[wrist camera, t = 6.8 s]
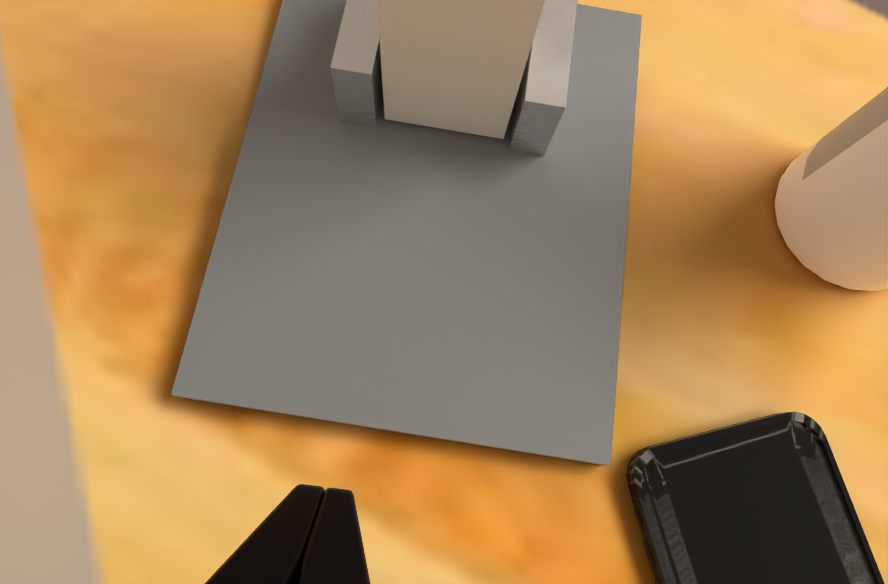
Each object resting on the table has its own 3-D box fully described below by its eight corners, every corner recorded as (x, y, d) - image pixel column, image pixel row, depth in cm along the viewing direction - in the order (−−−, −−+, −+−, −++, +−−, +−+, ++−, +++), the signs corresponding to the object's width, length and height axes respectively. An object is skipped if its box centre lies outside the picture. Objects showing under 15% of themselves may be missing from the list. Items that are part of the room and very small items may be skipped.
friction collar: (544, 156, 25) (565, 107, 21) (340, 121, 24) (330, 67, 21) (559, 26, 26) (581, -37, 23) (370, -6, 26) (364, -75, 23)
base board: (601, 465, 22) (610, 465, 21) (180, 397, 22) (170, 394, 21) (633, 30, 28) (641, 14, 27) (299, -28, 28) (295, -45, 27)
